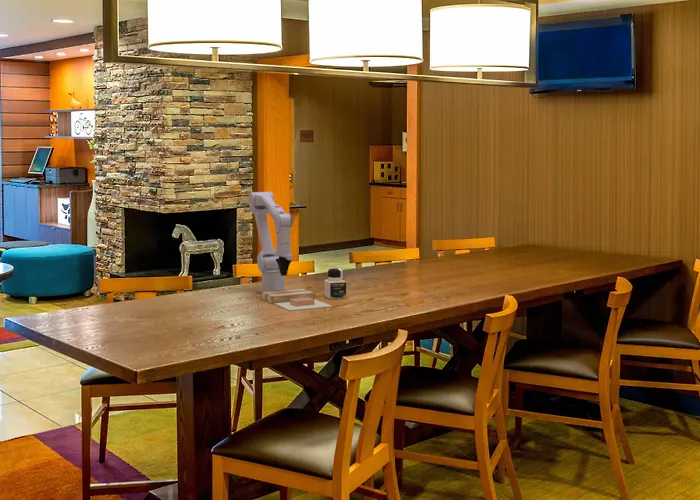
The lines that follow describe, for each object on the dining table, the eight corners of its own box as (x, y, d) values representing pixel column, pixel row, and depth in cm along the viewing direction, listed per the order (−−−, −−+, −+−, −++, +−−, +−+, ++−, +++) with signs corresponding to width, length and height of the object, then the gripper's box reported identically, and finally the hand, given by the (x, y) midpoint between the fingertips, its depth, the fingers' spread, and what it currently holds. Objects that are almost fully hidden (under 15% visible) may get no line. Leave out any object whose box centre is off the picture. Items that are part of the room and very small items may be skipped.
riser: (261, 298, 373) (261, 291, 373) (301, 294, 382) (300, 287, 381) (274, 304, 361) (273, 296, 361) (314, 300, 369) (314, 293, 369)
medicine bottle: (330, 299, 371) (330, 270, 370) (324, 296, 378) (324, 268, 376) (346, 298, 374) (346, 269, 372) (340, 295, 380) (340, 267, 379)
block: (295, 301, 354) (295, 306, 354) (314, 299, 357) (314, 304, 358) (289, 298, 359) (289, 303, 359) (308, 297, 363) (308, 302, 363)
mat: (274, 304, 361) (274, 303, 361) (315, 300, 369) (315, 299, 369) (289, 311, 347) (289, 310, 347) (332, 306, 355) (332, 305, 355)
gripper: (267, 241, 377) (268, 273, 378) (281, 245, 364) (281, 278, 365) (283, 240, 380) (283, 272, 381) (297, 244, 367) (297, 277, 369)
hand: (283, 275), depth 374 cm, fingers closed
